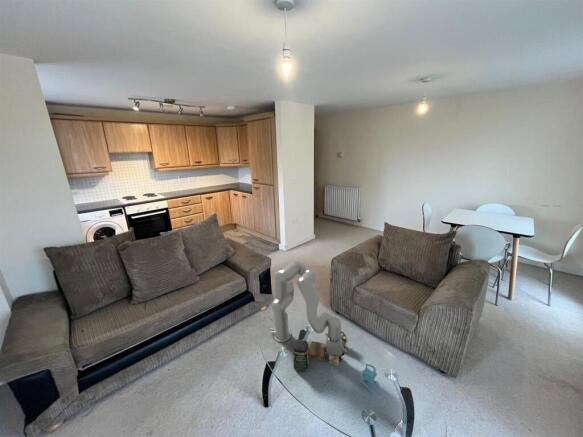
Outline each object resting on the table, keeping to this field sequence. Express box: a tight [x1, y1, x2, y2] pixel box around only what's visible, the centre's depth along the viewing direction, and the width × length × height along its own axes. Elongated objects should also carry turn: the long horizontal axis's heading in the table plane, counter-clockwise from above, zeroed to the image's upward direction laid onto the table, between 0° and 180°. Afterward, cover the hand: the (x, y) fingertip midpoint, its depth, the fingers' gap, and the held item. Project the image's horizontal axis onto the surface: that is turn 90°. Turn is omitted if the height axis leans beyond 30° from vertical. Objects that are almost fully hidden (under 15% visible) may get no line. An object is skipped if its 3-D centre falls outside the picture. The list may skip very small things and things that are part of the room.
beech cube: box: [328, 353, 340, 366], centre depth 150 cm, size 6×6×6 cm
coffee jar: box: [292, 339, 310, 372], centre depth 146 cm, size 10×8×19 cm
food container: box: [341, 330, 348, 350], centre depth 160 cm, size 12×6×10 cm, turn 58°
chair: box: [360, 363, 379, 394], centre depth 134 cm, size 8×8×12 cm
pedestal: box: [308, 340, 327, 362], centre depth 157 cm, size 10×10×4 cm
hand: (334, 358), depth 151 cm, fingers closed on beech cube, 6 cm apart
